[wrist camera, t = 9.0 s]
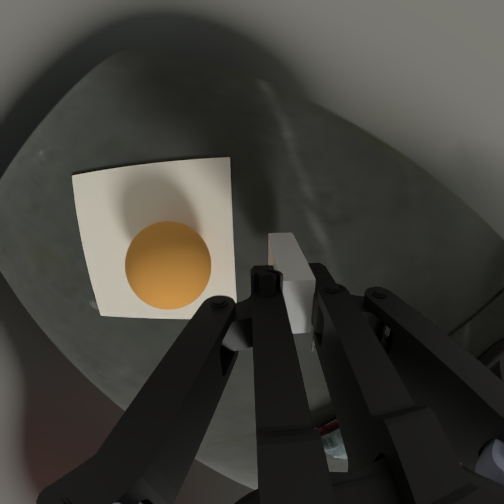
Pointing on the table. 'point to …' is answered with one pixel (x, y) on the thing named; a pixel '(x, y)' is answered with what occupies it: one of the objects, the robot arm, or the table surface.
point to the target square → (147, 213)
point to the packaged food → (333, 440)
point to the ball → (168, 265)
